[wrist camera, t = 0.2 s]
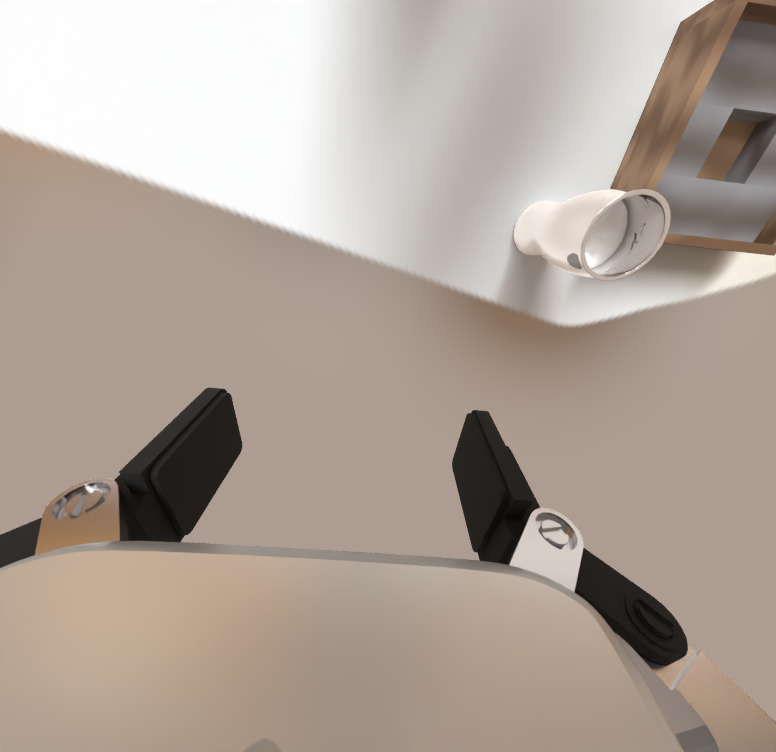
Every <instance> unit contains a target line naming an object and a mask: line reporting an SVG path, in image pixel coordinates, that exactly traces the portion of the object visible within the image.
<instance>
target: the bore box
mask: <svg viewBox="0 0 776 752" xmlns="http://www.w3.org/2000/svg"><path fill="white" fill-rule="evenodd" d="M611 189H634V190H637V189H649V190H653V191H656V192H658V193H659V194H661V195H662V196H663V197H664V198H665V199H666V201H667V203H668V205H669V208H670V215H671V219H670V226H669V230H668V233H667V236H666V238H665V240H664V242H663V243H667V244H676V245H685V246H693V247H702V248H711V249H720V250H729V251H738V252H747V253H756V254H765V255H775V253H776V0H714V1H712V2H711V3H709V4H708V5H706V6H705V7H703V8H702V9H700V10H699V11H697V12H696V13H694V14H693V15H691V16H690V17H688V18H686V19H685V20H683V21H682V22H681V23H680V25H679V28H678V30H677V32H676V35H675V37H674V40H673V42H672V44H671V47H670V49H669V51H668V54H667V56H666V59H665V61H664V63H663V66H662V68H661V70H660V73H659V75H658V77H657V80H656V82H655V85H654V87H653V89H652V92H651V94H650V96H649V99H648V101H647V103H646V106H645V108H644V111H643V113H642V115H641V118H640V120H639V122H638V125H637V127H636V129H635V132H634V134H633V137H632V139H631V141H630V144H629V146H628V148H627V151H626V153H625V156H624V158H623V160H622V163H621V165H620V167H619V170H618V172H617V174H616V177H615V179H614V182H613V184H612V186H611Z"/></svg>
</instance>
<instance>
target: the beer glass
mask: <svg viewBox="0 0 776 752" xmlns="http://www.w3.org/2000/svg"><path fill="white" fill-rule="evenodd" d="M670 219H671V215H670V208H669V205H668V203H667V201H666V199H665V198H664V197H663V196H662V195H661V194H659V193H658V192H656V191H653V190H649V189H637V190H634V189H606V190H598V191H592V192H587V193H584V194H581V195H578V196H575V197H572V198H570V199H568V200H565V201H563V202H560V203H556V202H553V201H549V200H543V201H538V202H536V203H533V204H532V205H530V206H529V207H527V208H526V209H525V210H524V211H523V212H522V213H521V215H520V216H519V218H518V220H517V222H516V224H515V227H514V242H515V244H516V246H517V248H518V249H519V250H520V251H521V252H522V253H524V254H527V255H542V256H543V257H544V258H545V259H546V260H547V261H549V262H550V263H551V264H553V265H554V266H556V267H557V268H559V269H561V270H564V271H566V272H569V273H572V274H576V275H580V276H585V277H590V278H596V279H599V280H605V281H611V280H617V279H621V278H624V277H626V276H629V275H631V274H633V273H634V272H636V271H637V270H639V269H640V268H642V267H643V266H644V265H645V264H647V263H648V262H649V261H650V260H651V259H652V258H653V256H654V255H655V254H656V253H657V251H658V250H659V249H660V247H661V246H662V244H663V242H664V240H665V238H666V236H667V233H668V230H669V226H670Z"/></svg>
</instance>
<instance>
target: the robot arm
mask: <svg viewBox="0 0 776 752" xmlns="http://www.w3.org/2000/svg"><path fill="white" fill-rule="evenodd" d="M241 449H242V441H241V436H240V432H239V428H238V423H237V419H236V415H235V410H234V406H233V402H232V397H231V395H230V394H229V393H227V391H226V390H225V389H219V388H206V389H205V390H204V391H203V392H202V393H201V394H200V395H199V396H198V397H197V398H196V399H195V400H194V401H193V402H191V403H190V405H189V406H187V407H186V408H185V409H184V410H183V411H182V412H181V413H180V414H179V415H178V416H177V417H176V418H175V419H174V420H173V421H172V422H171V423H170V424H169V425H168V426H166V427H165V428H164V429H163V431H161V432H160V433H159V434H158V435H157V436H156V437H155V438H154V439H153V440H152V441H151V442H150V443H149V444H148V445H147V446H146V447H145V448H144V449H142V450H141V451H140V452H139V453H138V454H137V455H136V456H135V457H134V458H133V459H132V460H131V461H130V462H129V463H128V464H127V465H126V466H125V467H124V468H123V469H122V470H121V471H120V472H119V473H120V475H119V476H118V477H117V478H116V479H115V480H112V479H109V478H97V479H92V480H88V481H84V482H82V483H79V484H77V485H75V486H72V487H71V488H69V489H67V490H65V491H64V492H62V493H61V494H59V495H58V496H57V497H56V498H54V499H53V500H52V501H51V502H50V503H49V504H48V506H47V507H46V508H45V510H44V513H43V515H42V518H40V519H38V520H35V521H33V522H30V523H28V524H26V525H23V526H21V527H18V528H16V529H13V530H11V531H9V532H6V533H4V534H1V535H0V752H776V722H775V720H773V719H772V718H771V717H770V716H769V715H768V714H767V713H766V712H765V711H764V710H763V709H762V708H761V707H760V706H759V705H758V704H757V703H755V701H754V700H752V699H751V698H750V697H749V696H748V695H747V694H746V693H745V692H744V691H743V690H742V689H741V688H740V687H739V686H738V685H737V684H736V683H735V682H733V681H732V680H731V679H730V678H729V677H728V676H727V675H726V674H725V673H724V672H723V671H722V670H721V669H720V668H719V667H718V666H717V665H716V664H714V663H713V661H711V660H710V659H709V658H708V657H707V656H706V655H705V654H704V653H703V652H702V651H699V652H697V653H696V652H695V651H694V650H693V649H692V648H691V647H690V646H689V645H688V644H687V639H686V636H685V634H684V632H683V630H682V628H681V626H680V625H679V623H678V622H677V620H676V619H675V618H674V616H673V615H672V614H671V613H670V612H669V611H668V610H667V609H666V608H665V607H664V605H662V604H661V603H660V602H659V601H657V600H656V599H655V598H654V597H652V596H651V595H650V594H648V593H647V592H645V591H644V590H643V589H641V588H640V587H638V586H637V585H636V584H634V583H633V582H631V581H630V580H628V579H627V578H626V577H624V576H623V575H621V574H620V573H618V572H617V571H616V570H614V569H613V568H611V567H610V566H609V565H607V564H605V563H604V562H603V561H602V560H600V559H599V558H597V557H596V556H594V555H593V554H591V553H590V552H589V551H587V550H586V549H585V548H583V539H582V536H581V534H580V532H579V531H578V529H577V528H576V526H575V525H574V524H573V523H572V522H571V521H570V520H569V519H568V518H566V517H565V516H563V515H562V514H560V513H559V512H557V511H554V510H552V509H548V508H540V506H539V504H538V503H537V500H536V498H535V497H534V495H533V493H532V491H531V489H530V487H529V485H528V483H527V481H526V479H525V477H524V475H523V473H522V471H521V469H520V467H519V465H518V464H517V461H516V460H515V457H514V455H513V454H512V452H511V450H510V449H509V447H507V446H505V444H504V442H503V440H502V438H501V436H500V434H499V432H498V430H497V428H496V426H495V424H494V422H493V420H492V418H491V416H490V414H489V412H487V411H478V410H473V411H472V413H468V414H467V416H466V419H465V422H464V426H463V429H462V432H461V435H460V438H459V441H458V444H457V448H456V451H455V454H454V457H453V462H452V468H453V472H454V476H455V480H456V484H457V488H458V492H459V496H460V500H461V505H462V509H463V513H464V516H465V521H466V525H467V529H468V532H469V537H470V541H471V545H472V548H473V551H474V552H478V555H479V559H480V561H477V560H465V559H453V558H441V557H427V556H411V555H395V554H380V553H365V552H348V551H331V550H314V549H297V548H279V547H260V546H243V545H242V546H241V545H223V544H204V543H184V542H181V540H182V538H183V537H184V536H185V535H188V534H189V533H190V532H191V531H192V530H193V528H194V527H195V525H196V523H197V522H198V520H199V518H200V517H201V515H202V514H203V512H204V510H205V509H206V507H207V506H208V504H209V502H210V501H211V499H212V498H213V496H214V494H215V493H216V491H217V489H218V488H219V486H220V485H221V483H222V481H223V480H224V478H225V477H226V475H227V473H228V472H229V470H230V469H231V467H232V465H233V464H234V462H235V460H236V459H237V457H238V456H239V454H240V452H241Z"/></svg>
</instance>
